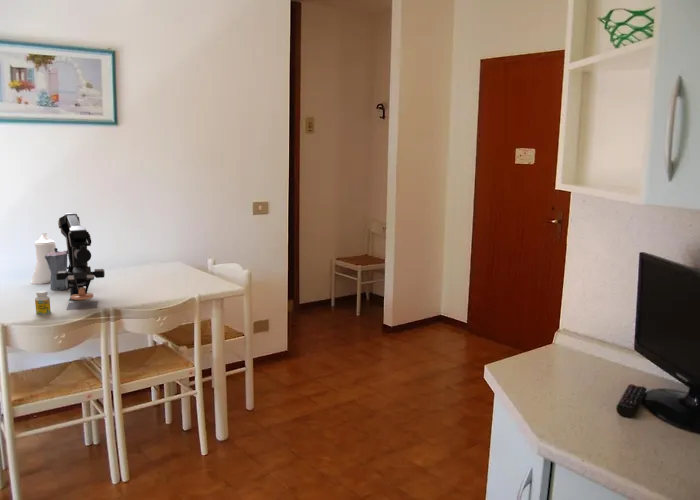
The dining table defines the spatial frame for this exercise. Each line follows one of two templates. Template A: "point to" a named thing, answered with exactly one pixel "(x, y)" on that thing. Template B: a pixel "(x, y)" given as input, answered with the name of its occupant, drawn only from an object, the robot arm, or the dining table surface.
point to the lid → (82, 294)
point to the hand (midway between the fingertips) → (82, 293)
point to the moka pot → (57, 268)
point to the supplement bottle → (42, 303)
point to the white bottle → (43, 260)
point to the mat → (82, 305)
